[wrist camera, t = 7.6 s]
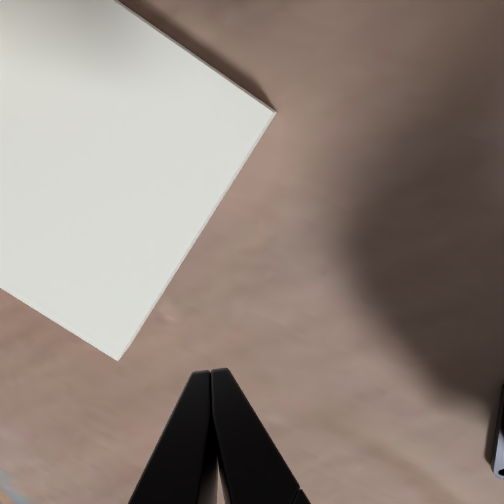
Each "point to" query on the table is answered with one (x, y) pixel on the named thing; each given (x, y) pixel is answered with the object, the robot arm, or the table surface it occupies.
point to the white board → (108, 161)
